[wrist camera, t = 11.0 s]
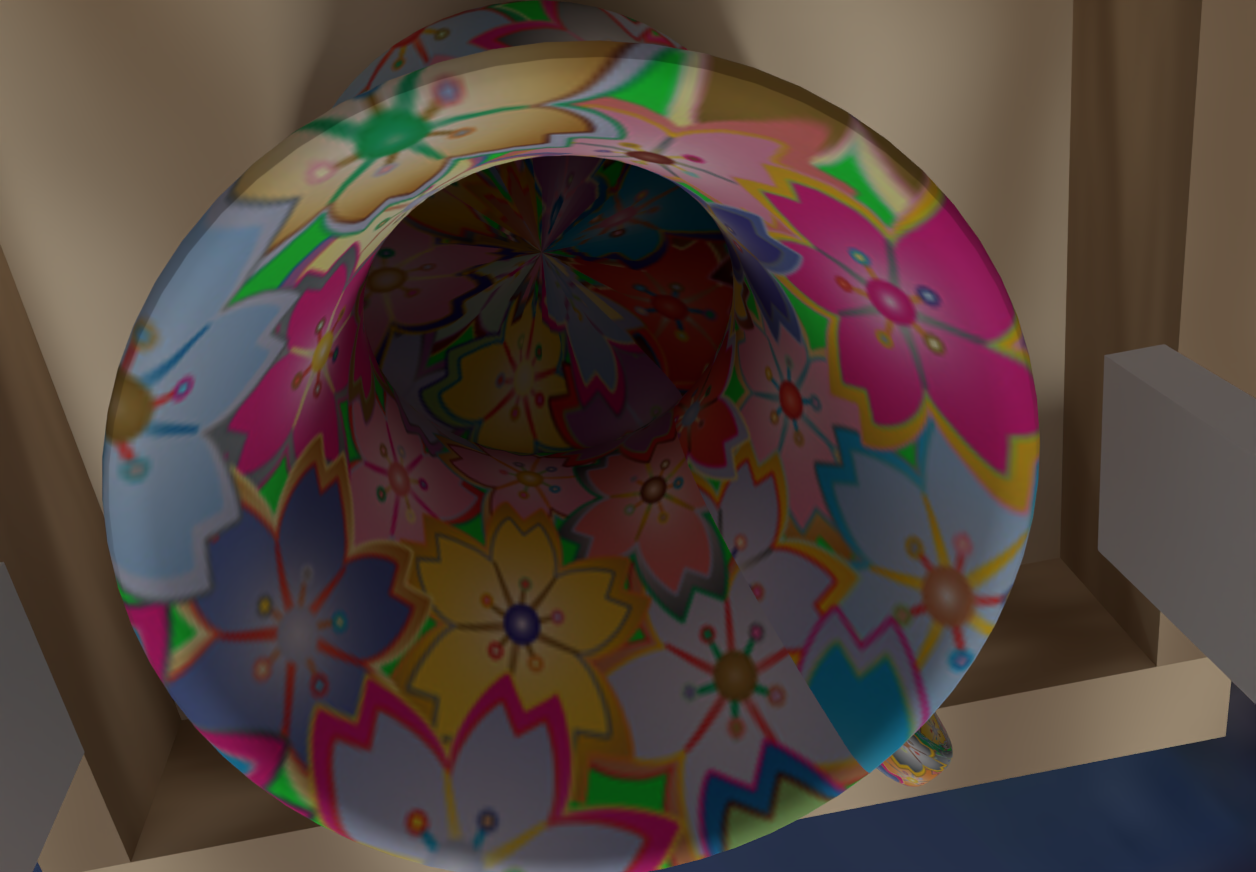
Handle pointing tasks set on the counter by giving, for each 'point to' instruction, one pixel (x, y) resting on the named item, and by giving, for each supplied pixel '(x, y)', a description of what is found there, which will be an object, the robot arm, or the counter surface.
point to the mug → (571, 453)
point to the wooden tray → (699, 21)
